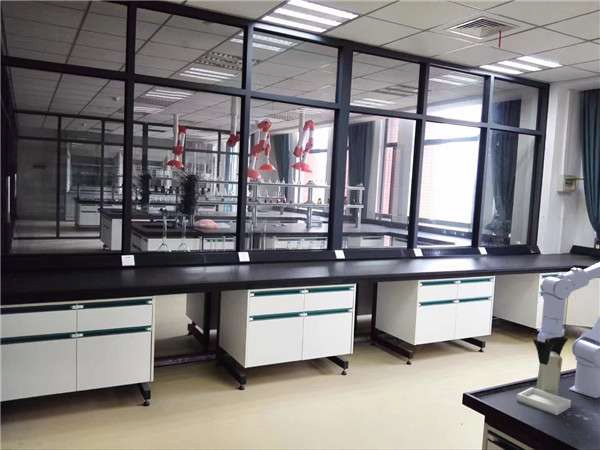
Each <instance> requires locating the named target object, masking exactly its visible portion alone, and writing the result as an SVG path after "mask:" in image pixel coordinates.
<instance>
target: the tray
mask: <svg viewBox="0 0 600 450" xmlns="http://www.w3.org/2000/svg"><path fill="white" fill-rule="evenodd" d="M516 401H517V402H520V403H522V404H525V405H528V406H530V407H532V408H536V409H538V410H542V411H544V412H546V413H550V414H553V415H554V416H555V415H556V416H558V415H560V414H562V413H563V412H565V411H567V410H568V409H569V408H571V405H572V400H571V399H569V398H565V397H563V396H559V395H554V394H551V393H548V392H545V391H542V390H539V389H537V388H535V387H533V386H532V387H529V388H527V389H525V390H523V391H521V392H519V393H517V394H516Z"/></svg>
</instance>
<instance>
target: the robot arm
mask: <svg viewBox="0 0 600 450" xmlns="http://www.w3.org/2000/svg"><path fill="white" fill-rule="evenodd" d="M598 278H600V261H599V262H596V263H594V264H593V265H590V266H589V267H587V268H584V269H582V268H580V267H573V268H570V270H569V271H567V272H564V273H559V274H557V275H556V276H547V277H545V278H544V280H543V281H542V283H541V284H540V285H539V286H540V288H539V289H540V291H541V293H542V299H543V304H542V305H543V306H542V318H541V328H540V327H539V328H537V329H536V331H537V332H539V333H538V334H537V337H534V338H533V339H532V340H533V344H534V346H535V348H536V352H537V359H538V362H539V364H540V363H541V364H544V365H547V364H548V361H549V357H550V353H551V351H552V352H556V353H557V354H558V355H559V356H560V357H561V354H562V351H563V348H564V347H565V345H566V343H567V342H568V341H569V337H567V336H565V330H566V329H565V328H564V320H565V319H564V317H565V308H566V299H567V298H569V297H570V295H571V294H572V292H573V293H574V292H575V291H577V290H580V289H581V288H584V287H587V286H589V283H590V281H591V280H594V279H598ZM571 353H572V354H573V356H575V358H574V359H575V361H576V364H575V365H576V368H575V377H574V385H573V386H571V387H569V388H568V390H570V391H573V392H575V393H579V394H582V395H585V396H588V397H591V398H594V399H599V398H600V316H599V317H598V318H597V319H596V321H595V323H594V325H593V327H592V328H591V329H590V330H589V331H585V332H582V333H581V335H580V336H579V338H577V339H575V341H574V342H573V343H572V345H571Z"/></svg>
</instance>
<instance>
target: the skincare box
mask: <svg viewBox="0 0 600 450" xmlns="http://www.w3.org/2000/svg"><path fill="white" fill-rule="evenodd" d="M562 366H563V358H562V356H561V355H560V356H559V355H558V354H557V353H556V352H552V351H551V353H550V357H549V361H548V364H547V365H544V364H541V363H539V367H538V372H537V373H538V375H537V379H536V380H537V381H536V389H539V390H542V391H545V392H548V393H551V394H554V395H557V396H559V395H558V393H559V388H560V387H559V386H560V380H561V373H562V372H561V371H562Z"/></svg>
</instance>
